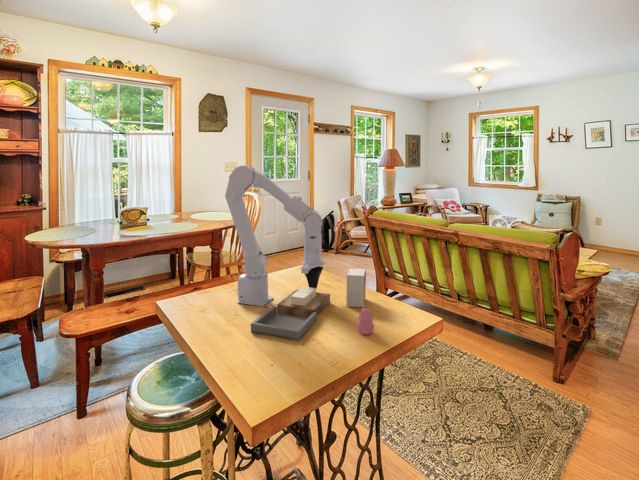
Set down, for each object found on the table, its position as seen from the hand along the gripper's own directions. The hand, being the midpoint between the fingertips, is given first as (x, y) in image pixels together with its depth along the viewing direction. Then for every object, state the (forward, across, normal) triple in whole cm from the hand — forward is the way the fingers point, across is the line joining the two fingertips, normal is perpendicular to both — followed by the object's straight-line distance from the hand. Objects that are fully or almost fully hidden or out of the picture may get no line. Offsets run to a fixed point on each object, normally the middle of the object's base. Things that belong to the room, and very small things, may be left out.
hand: (313, 288), depth 121 cm
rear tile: (+1, -6, 0) cm, 6 cm away
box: (+4, -21, 0) cm, 22 cm away
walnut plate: (+4, -7, 0) cm, 8 cm away
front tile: (+1, -10, 0) cm, 10 cm away
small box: (+4, +3, -14) cm, 15 cm away
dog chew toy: (+4, -17, -22) cm, 28 cm away
